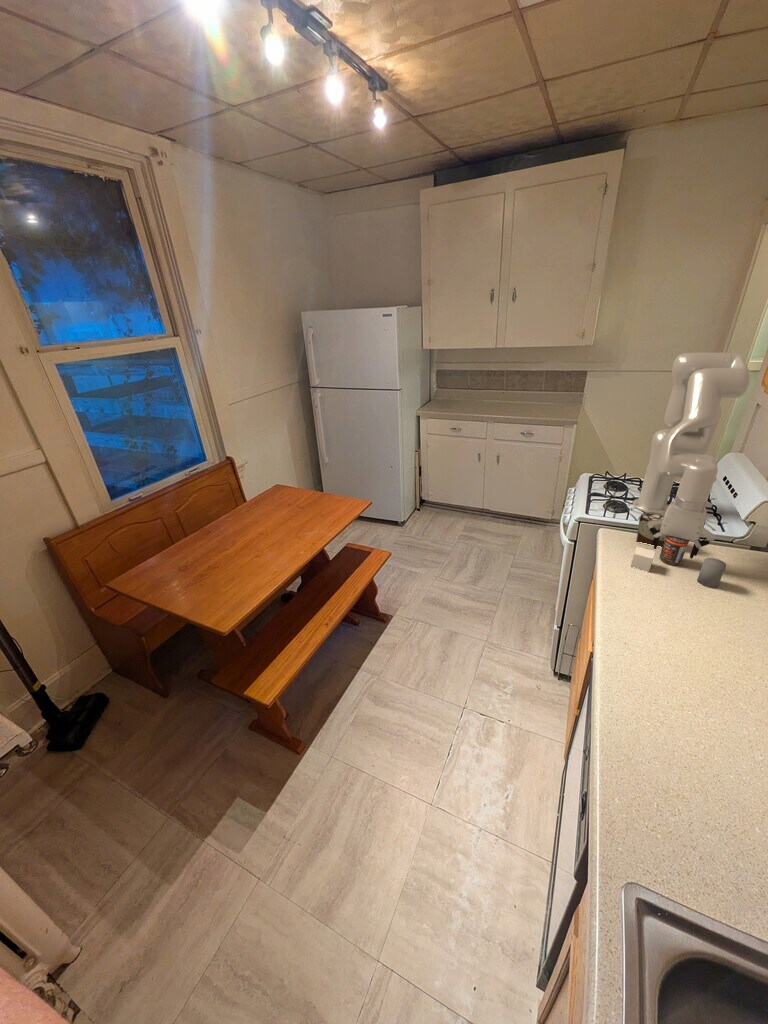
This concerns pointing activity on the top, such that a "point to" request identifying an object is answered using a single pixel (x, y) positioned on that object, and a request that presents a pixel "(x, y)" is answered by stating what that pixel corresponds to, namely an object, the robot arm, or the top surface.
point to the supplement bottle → (673, 550)
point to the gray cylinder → (711, 572)
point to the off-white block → (642, 559)
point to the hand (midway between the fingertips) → (672, 551)
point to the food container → (644, 531)
